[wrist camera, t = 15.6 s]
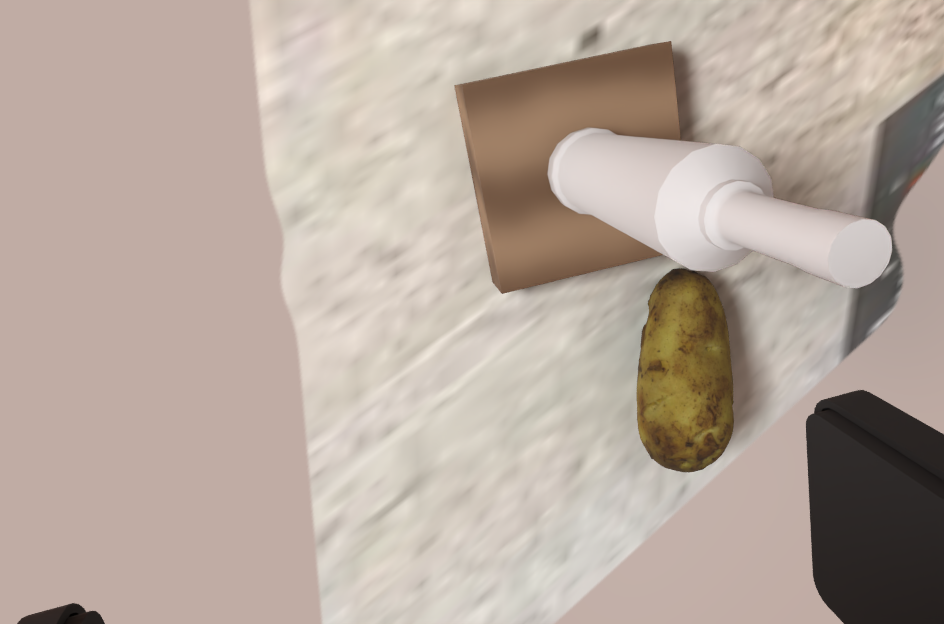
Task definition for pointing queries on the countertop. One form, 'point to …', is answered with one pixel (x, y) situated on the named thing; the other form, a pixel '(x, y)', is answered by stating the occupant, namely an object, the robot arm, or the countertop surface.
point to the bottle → (709, 206)
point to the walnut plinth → (531, 145)
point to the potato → (685, 374)
